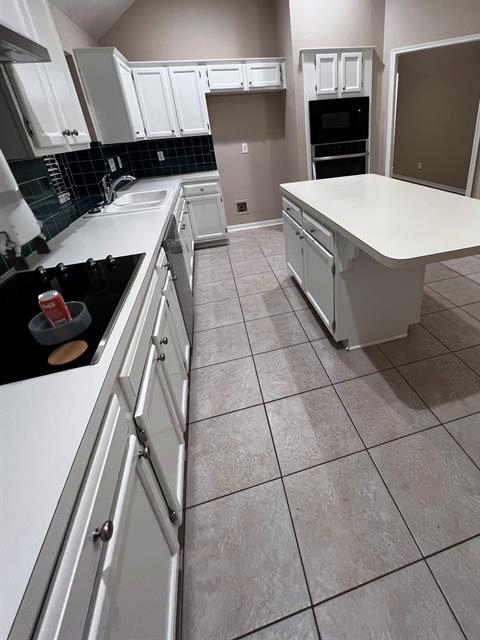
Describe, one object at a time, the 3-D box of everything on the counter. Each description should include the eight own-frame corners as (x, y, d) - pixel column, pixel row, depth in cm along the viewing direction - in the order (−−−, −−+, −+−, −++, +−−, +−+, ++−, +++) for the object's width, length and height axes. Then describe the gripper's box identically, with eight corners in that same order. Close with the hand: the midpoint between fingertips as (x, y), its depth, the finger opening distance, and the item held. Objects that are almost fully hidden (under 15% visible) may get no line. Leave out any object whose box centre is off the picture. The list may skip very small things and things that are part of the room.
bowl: (30, 353, 85) (21, 337, 83) (44, 324, 97) (36, 309, 95) (88, 336, 89) (81, 321, 87) (95, 311, 101) (88, 296, 99)
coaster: (41, 368, 79) (40, 367, 79) (59, 344, 87) (59, 343, 87) (78, 362, 80) (77, 361, 80) (93, 339, 88) (92, 338, 88)
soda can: (57, 325, 95) (40, 292, 89) (77, 321, 96) (61, 287, 91) (51, 336, 90) (33, 301, 85) (72, 331, 91) (55, 296, 86)
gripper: (10, 191, 84) (38, 249, 91) (-43, 211, 68) (-3, 279, 76) (39, 188, 84) (65, 246, 92) (-6, 207, 69) (30, 275, 76)
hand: (34, 261), depth 84 cm, fingers open, 9 cm apart
